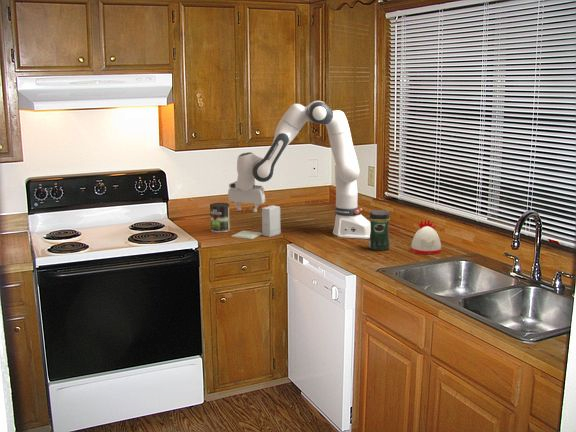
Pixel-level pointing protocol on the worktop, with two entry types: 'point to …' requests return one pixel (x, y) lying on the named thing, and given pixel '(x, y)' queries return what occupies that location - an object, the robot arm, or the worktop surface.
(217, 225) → the coffee can
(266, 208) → the skincare box
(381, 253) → the worktop surface
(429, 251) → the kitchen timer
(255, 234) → the plate
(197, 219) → the worktop surface
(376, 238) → the coffee jar
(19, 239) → the worktop surface
